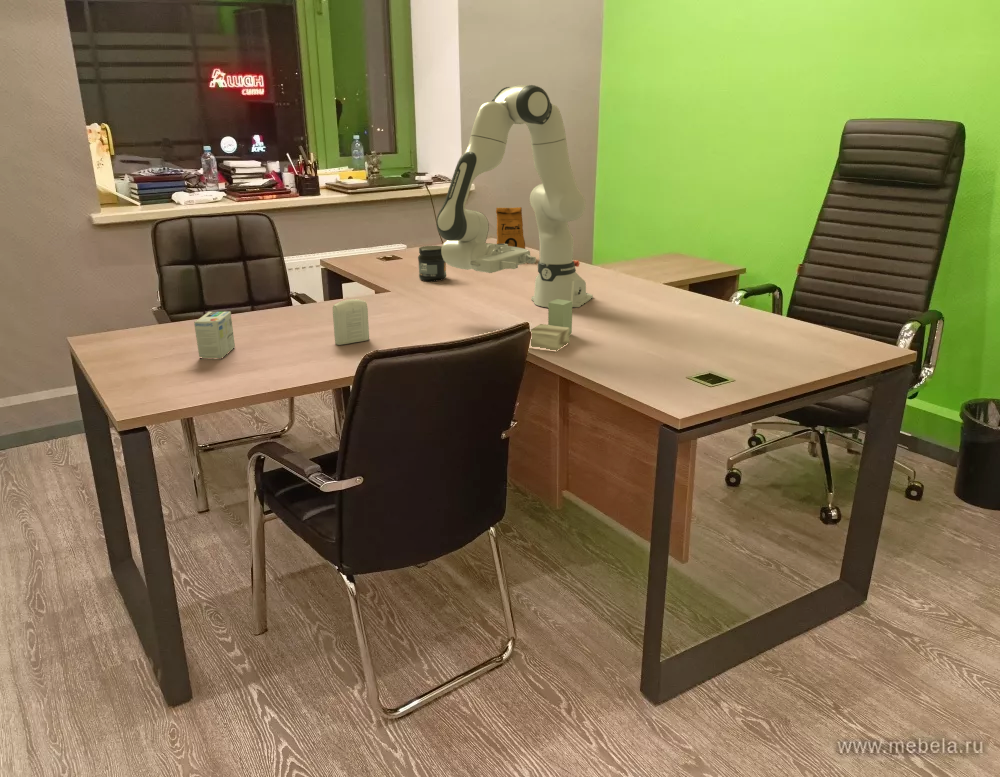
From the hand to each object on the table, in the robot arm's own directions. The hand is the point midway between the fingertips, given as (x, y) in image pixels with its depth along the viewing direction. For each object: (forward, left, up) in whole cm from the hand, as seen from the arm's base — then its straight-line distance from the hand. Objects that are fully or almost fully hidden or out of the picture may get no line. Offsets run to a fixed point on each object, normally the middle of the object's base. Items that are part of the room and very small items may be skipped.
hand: (525, 263), depth 239 cm
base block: (+11, +15, -20) cm, 28 cm away
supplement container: (-37, -68, -20) cm, 80 cm away
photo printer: (+39, -34, -20) cm, 55 cm away
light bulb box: (+68, -57, -20) cm, 91 cm away
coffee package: (-83, -64, -20) cm, 107 cm away
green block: (0, +12, -20) cm, 23 cm away
